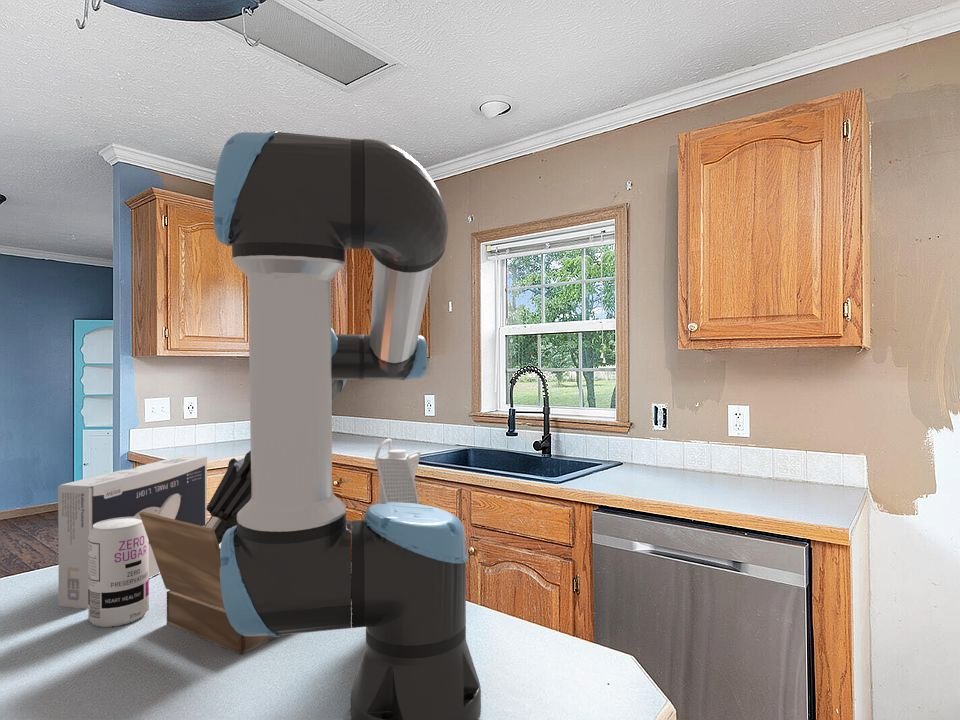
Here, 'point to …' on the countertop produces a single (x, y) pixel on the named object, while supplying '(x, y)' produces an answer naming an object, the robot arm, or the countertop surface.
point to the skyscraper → (397, 475)
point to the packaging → (124, 511)
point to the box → (208, 623)
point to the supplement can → (118, 571)
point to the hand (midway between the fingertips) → (194, 560)
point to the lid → (186, 557)
